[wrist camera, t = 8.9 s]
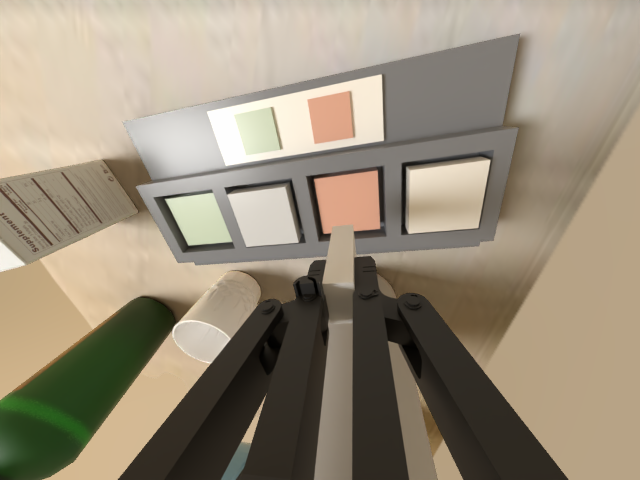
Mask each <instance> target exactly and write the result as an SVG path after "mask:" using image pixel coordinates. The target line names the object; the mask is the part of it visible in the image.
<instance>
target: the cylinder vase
mask: <svg viewBox="0 0 640 480" xmlns="http://www.w3.org/2000/svg"><path fill="white" fill-rule="evenodd" d="M377 279H378V285H379V289H380V291H381V292H382V293H383V294H384V295H386V296H388V297H391V298H396V295H395V292H394V290H393V288H392V287H391V285H390V284H389V283H388V282H387V281H386V280H385V279H384V278H383V277H381V276H380V275H378V274H377ZM328 327H329V341H328V350H327V360H326V370H325V379H324V389H323V398H322V408H321V417H320V427H319V437H318V446H317V456H316V465H315V475H314V480H352V363H353V323H352V324H330V321H328ZM388 345H389V351H390V358H391V364H392V371H393V377H394V384H395V390H396V397H397V403H398V410H399V416H400V423H401V429H402V436H403V442H404V449H405V455H406V462H407V468H408V474H409V480H438V479H437V475H436V470H435V466H434V462H433V457H432V452H431V448H430V444H429V439H428V435H427V431H426V426H425V422H424V417H423V413H422V409H421V404H420V400H419V395H418V391H417V387H416V382H415V379H414V377H413V375H412V373H411V371H410V369H409V367H408V364H407V362H406V360H405V358H404V356H403V354H402V352H401V350H400V348H399V346H398V344H397V343H393V342H390V341H388Z"/></svg>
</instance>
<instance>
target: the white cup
mask: <svg viewBox="0 0 640 480" xmlns="http://www.w3.org/2000/svg"><path fill="white" fill-rule="evenodd" d="M260 296H261V289H260V286H259V285H258V283H257V281H256V280H255V279H254V278H252V277H251V276H250V275H248V274H246V273H243V272H240V271H229V272H227V273H225V274H223V275H222V276H221V277H220V278H219V279H218V280H217V281H216V283H215V284H214V285H212V286H211V287H210V288H209V289H208V290H207V291H206V293H205V294H204V295H203V296H202V297H201V298H200V299H199V300H198V301H197V302H196V303H195V304H194V305H193V306H192V307H191V309H190V310H189V311H188V312H187V313H186V314H185V315H184V316H183V317H182V318H181V320H180V321H179V322H178V323H177V324H176V325H175V326H174V328H173V331H172V335H173V339H174V341H175V343H176V344H177V345H178V347H179V348H180V349H181V350H183V351H184V352H185V353H186V354H188V355H189V356H191V357H193V358H195V359H197V360H200V361H203V362H206V363H212V362H213V361H214V359H215V358H216V357H217V356H218V354H219V353H220V352H221V351H222V349H223V348H224V347H225V346H226V344H227V343H228V342H229V341H230V339H231V338H232V337H233V336H234V334H235V333H236V332H237V331H238V330H239V328H240V327H241V326H242V325H243V323H244V322H245V321H246V320H247V318H248V317H249V316H250V315H251V313H252V312H253V311H254V310H255V307H256V305H257V303H258V301H259V298H260Z"/></svg>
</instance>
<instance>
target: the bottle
mask: <svg viewBox="0 0 640 480" xmlns="http://www.w3.org/2000/svg"><path fill="white" fill-rule="evenodd" d="M175 323H176V321H175V319H174V316H173V314H172V313H171V312H170V311H169V310H168V309H167V308H166V307H165V306H164V305H163V304H161V303H159V302H157V301H155V300H152V299H149V298H140V297H138V298H136V299H134V300H132V301H130V302H129V303H127V304H126V305H125V306H123V307H122V308H121V309H120V310H118V311H117V312H116V313H114V314H113V315H112V316H110V317H109V318H108V319H106V320H105V321H104V322H102V323H101V324H100V325H99V326H97V327H96V328H95V329H93V330H92V331H91V332H89V333H88V334H87V335H85V336H84V337H83V338H81V339H80V340H79V341H78V342H76V343H75V344H74V345H72V346H71V347H70V348H68V349H67V350H66V351H64V352H63V353H62V354H60V355H59V356H58V357H57V358H55V359H54V360H53V361H51V362H50V363H49V364H47V365H46V366H45V367H43V368H42V369H41V370H39V371H38V372H37V373H35V374H34V375H33V376H32V377H30V378H29V379H28V380H26V381H25V382H24V383H22V384H21V385H20V386H18V387H17V388H16V389H14V390H13V391H12V392H11V393H9V394H8V395H7V396H5V397H4V398H3V399H1V400H0V480H42V479H45V478H48V477H51V476H52V475H54V474H55V473H57V472H58V471H60V470H61V469H63V468H65V467H66V466H68V465H69V464H71V463H73V462H74V461H75V460H76V458H77V457H78V456H79V454H80V453H81V452H82V450H83V449H84V448H85V446H86V445H87V444H88V442H89V441H90V439H91V438H92V437H93V435H94V434H95V433H96V431H97V430H98V429H99V427H100V426H101V425H102V423H103V422H104V421H105V419H106V418H107V417H108V415H109V414H110V413H111V411H112V410H113V409H114V407H115V406H116V405H117V403H118V402H119V401H120V399H121V398H122V397H123V395H124V394H125V393H126V391H127V390H128V389H129V387H130V386H131V385H132V383H133V382H134V381H135V379H136V378H137V377H138V375H139V374H140V373H141V371H142V370H143V369H144V367H145V366H146V364H147V363H148V362H149V360H150V359H151V358H152V356H153V355H154V354H155V352H156V351H157V350H158V348H159V347H160V346H161V344H162V343H163V342H164V340H165V339H166V338H167V336H168V335H169V334H170V332H171V331H172V330H173V328H174V326H175Z"/></svg>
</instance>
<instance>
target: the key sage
mask: <svg viewBox="0 0 640 480" xmlns="http://www.w3.org/2000/svg"><path fill="white" fill-rule="evenodd" d="M165 200H166V202H167V204H168V206H169V208H170V210H171V212H172V214H173V216H174V218H175V220H176V222H177V224H178V226H179V228H180V230H181V232H182V234H183V236H184V238H185V240H186V242H187V244H188V246H190V245H201V244H213V243H224V242H232V239H231V237H230V234H229V232H228V229H227V226H226V224H225V221H224V219H223V216H222V214H221V211H220V209H219V206H218V204H217V201H216V199H215V196H214V194H213V191H212V190H206V191H198V192H191V193H184V194H177V195H173V196H171V197H169V198H167V199H165Z"/></svg>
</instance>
